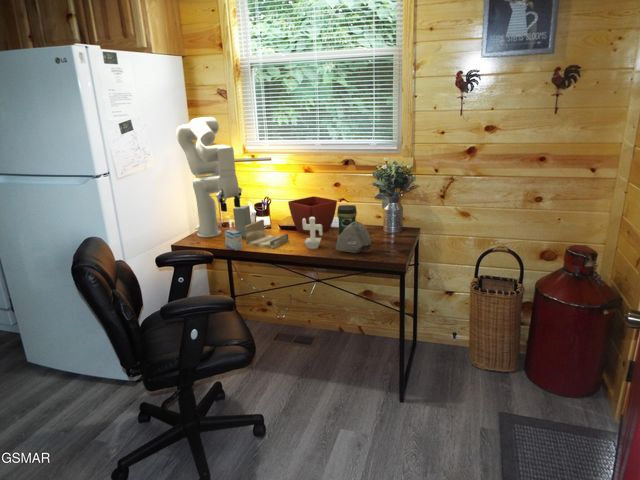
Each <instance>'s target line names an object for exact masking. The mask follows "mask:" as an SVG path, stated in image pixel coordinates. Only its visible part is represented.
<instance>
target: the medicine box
mask: <svg viewBox="0 0 640 480" xmlns="http://www.w3.org/2000/svg"><path fill="white" fill-rule="evenodd" d="M242 238H243V237H241V232H239V231H236V229H233V228H232V229H228V230H225V231H224V239H225V242H224V243H225V248H226V249H229V250H233V251H235V252H236V251H238V250H242V249H243V242H242V241H243V240H242Z"/></svg>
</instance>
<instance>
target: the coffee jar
mask: <svg viewBox="0 0 640 480" xmlns="http://www.w3.org/2000/svg"><path fill="white" fill-rule="evenodd" d="M357 214H358V211H357V206H356V205H355V204H344V205H343V204H339V205H338V206H337V210H336V215H337V218H338V232H337V238H338V237H339V235H340V234H341V233H342V232H343V230H344V229H345V228H346V227H347V226H349V225H350V224H351V223H352V222H355V221H357V220H356V217H357Z"/></svg>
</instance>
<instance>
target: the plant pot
mask: <svg viewBox="0 0 640 480" xmlns="http://www.w3.org/2000/svg"><path fill="white" fill-rule="evenodd" d="M287 203H288V209H289V212H290V215H291V219H292V221H293V224H294V226H295V228H296V231H297V232H298V233H302V234H306V235H309V236H310V230H304V229H303V223H302V220H303V218H305V219H306V224H310V221H309V218H310V217H315V224H321V225H322V232H323V234H324V233H327V232H330V230H331V227H332V224H333V221H334V218H335V215H336V211H337V205H338V204H337V203H338V200H336V199H331V198H327V197H320V196H315V195H313V196H308V197H307V196H306V197H304V198H299V199H294V200H289V201H287ZM316 235H319V230H315V236H316Z"/></svg>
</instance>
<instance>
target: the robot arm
mask: <svg viewBox="0 0 640 480" xmlns="http://www.w3.org/2000/svg"><path fill="white" fill-rule="evenodd" d="M219 126H220V125H219V122H218V120H217V119H216V118H215V117H212V116H207V117H205V116H204V117H195V118H192V119H191V120H190V121H189V123H184V124H181V125H179V126H177V128H176V131H175V132H176V133H175V134H176V138H177V141H178V144H179V145H180V147H181V149H182V150H183V152H184V155H185V156H186V160H187V163H188V166H189V169H190V172H191V173H192V175H193V176H194V177H195V176H196V178H194V180H193V181H192V188H193V191H194V195H195V200H196V201H195V202H196V208H197V216H198V224H197V225H196V227H195V230H197V231H198V232H197V233H196V234H197V237H199V238H214V237H218V236H220V235H221V234H222V231H221V230H220V229H219V227H218V217H217V207H216V201H215V199H214V198H213V197H212V196H211V194H215V198H216V199H217V201H218V203H219V204H220V205H219V206H220V212H226V213H227V211H228V207H227V203H226V202H227V199H231V198H233V203H234V204H233V205H234V208H235V207H240V206H241V196H242V192H243V188H241V187H240V186H239V183H238V177H237V173H236V164H235V162H236V161H235V152H234V148H233V146H231V145H227V144H216V145H215V144H214V145H212V144H213V143H214V141H215V139H216V134H217V133H218V132H219V130H220V129H219V128H220V127H219ZM194 141H195V142H194ZM197 176H198V177H197ZM216 193H217V194H216Z"/></svg>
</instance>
